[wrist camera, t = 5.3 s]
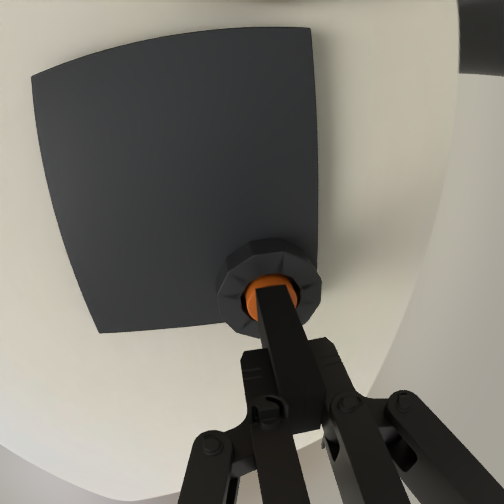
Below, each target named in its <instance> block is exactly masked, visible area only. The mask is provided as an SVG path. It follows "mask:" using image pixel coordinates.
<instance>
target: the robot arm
mask: <svg viewBox="0 0 504 504" xmlns="http://www.w3.org/2000/svg"><path fill="white" fill-rule="evenodd" d="M255 292H256V304H257V316H258V328H259V334H260V339H261V343H262V348H263V349H257V350H250V351H244V353H243V355H242V358H241V360H240V362H241V369H242V376H243V383H244V390H245V396H246V403H247V415H246V418H245V419H244V421H243V422H242V423H241V424H240V425H239V426H237V427H235V428H233V429H231V430H228V431H226V432H221V431H217V430H210V431H206V432H203V433H201V434H200V435H199V436H198V437H196V439H195V441H194V443H193V446H192V450H191V454H190V458H189V461H188V465H187V469H186V473H185V477H184V481H183V485H182V488H181V492H180V496H179V500H178V504H236V502H237V495H238V489H239V482H240V476H242V475H245V474H247V473H249V472H252V471H254V470H256V469H257V472H258V478H259V483H260V489H261V495H262V500H263V504H310V500H309V497H308V493H307V489H306V485H305V482H304V478H303V474H302V470H301V466H300V463H299V458H298V454H297V451H296V447H295V443H294V439H293V434H298V433H303V432H308V431H313V430H317V429H320V426H321V424H322V427H323V430H324V435H323V439H322V443H321V446H322V449H323V448H325V447H326V450H327V453H328V456H329V460H330V463H331V466H332V469H333V472H334V475H335V479H336V482H337V485H338V488H339V491H340V494H341V498H342V501H343V504H411V503H410V501H409V498H408V496H407V493H406V492H405V489H404V486H403V484H402V481H401V479H402V480H403V482H404V483H405V484H406V485H407V487H408V488H409V489H410V490H411V492H412V493H413V494H414V496H415V497H416V498H417V499H418V501H419V502H420V503H421V504H504V489H503V488H502V486H501V485H500V484H499V483H498V482H497V481H496V480H495V479H494V478H493V477H492V475H491V474H490V473H489V472H488V471H487V470H486V469H485V468H484V467H483V466H482V465H481V463H480V462H479V461H478V460H477V459H476V458H475V457H474V456H473V455H472V454H471V453H470V451H469V450H468V449H467V448H466V447H465V446H464V445H463V444H462V443H461V442H460V441H459V440H458V439H457V438H456V436H455V435H454V434H453V433H452V432H451V431H450V430H449V429H448V428H447V427H446V426H445V425H444V424H443V423H442V422H441V421H440V420H439V418H438V417H437V416H436V415H435V414H434V413H433V412H432V411H431V410H430V409H429V408H428V407H427V406H426V405H425V404H424V403H423V402H422V400H421V399H420V398H419V397H418V396H417V395H415V394H414V393H412V392H410V391H407V390H399V391H397V392H394V393H393V394H392V395H391V396H390V397H389V399H372V398H367V397H364V396H362V395H361V394H359V393H358V392H357V391H356V390H355V388H354V387H353V385H352V382H351V380H350V378H349V376H348V374H347V371H346V369H345V367H344V365H343V363H342V362H341V359H340V356H339V355H338V352H337V350H336V348H335V346H334V344H333V343H332V342H331V341H329V340H328V339H327V338H326V337H323V338H318V339H313V340H308V339H307V337H306V334H305V332H304V329H303V327H302V324H301V322H300V319H299V317H298V314H297V311H296V309H295V306H294V304H293V301H292V299H291V296H290V294H289V291H288V289H287V286H286V284H284V285H277V286H270V287H263V288H255ZM400 478H401V479H400Z"/></svg>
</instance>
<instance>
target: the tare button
mask: <svg viewBox="0 0 504 504" xmlns="http://www.w3.org/2000/svg"><path fill="white" fill-rule="evenodd" d="M284 284H286V286H287V289H288V291H289V294H290V296H291V299H292V301H293V304H294V306H295V308H296V305H297V296H296V293H295V291H294V288H293V286H292V284H291V281H290V279H289V277H288V276H286V275H283V274H280V273H275V274H268V275H261V276H260V277H258V278H257V279H255V280H253V281H252V282H250V283H249V284H247V286H246V288H245V290H244V293H245V299H246V304H247V309H248V312H249V314H250V316H251V317H252V318H253V319H255V320H256V321H258V316H257V304H256V292H255V288H263V287H270V286H277V285H284Z"/></svg>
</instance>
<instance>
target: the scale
mask: <svg viewBox="0 0 504 504" xmlns="http://www.w3.org/2000/svg"><path fill="white" fill-rule="evenodd" d="M31 82H32V94H33V104H34V112H35V120H36V127H37V133H38V140H39V145H40V151H41V156H42V161H43V166H44V171H45V176H46V180H47V184H48V189H49V193H50V197H51V201H52V204H53V208H54V212H55V215H56V219H57V222H58V226H59V229H60V233H61V236H62V239H63V242H64V245H65V248H66V251H67V254H68V257H69V260H70V263H71V266H72V268H73V271H74V274H75V277H76V279H77V282H78V285H79V287H80V290H81V292H82V295H83V297H84V300H85V302H86V304H87V307H88V309H89V312H90V314H91V316H92V318H93V321H94V323H95V325H96V327H97V330H98V332H99V333H117V332H132V331H145V330H157V329H168V328H179V327H189V326H198V325H207V324H216V323H224V322H226V323H227V324H228V325H229V326H230V327H231V328H232V329H233V330H234V331H235V332H236V333H240V334H243V335H247V336H251V337H255V338H258V339H260V334H259V328H258V321H256V320H255V319H253V318H252V317H251V316H250V314H249V312H248V309H247V304H246V299H245V293H244V290H245V288H246V286H247V284H249V283H250V282H252V281H253V280H255V279H257V278H258V277H260V276H261V275H268V274H275V273H280V274H283V275H286V276H288V277H289V279H290V281H291V284H292V286H293V288H294V291H295V293H296V296H297V305H296V308H295V309H296V311H297V314H298V317H299V319H300V322H301V324H302V325H303V324H305V323H306V322H307V321H308V320H309V319H310V317H311V316H312V314H313V313H314V311H315V310H316V308H317V307H318V305H319V304H320V301H321V285H322V281H321V278H320V276H319V274H318V273H317V254H318V141H317V114H316V94H315V77H314V63H313V50H312V39H311V29H310V28H304V27H245V28H228V29H216V30H206V31H198V32H190V33H183V34H176V35H170V36H164V37H159V38H153V39H148V40H144V41H139V42H135V43H130V44H126V45H122V46H118V47H114V48H111V49H107V50H103V51H100V52H97V53H93V54H90V55H87V56H84V57H81V58H78V59H75V60H72V61H69V62H66V63H63V64H61V65H58V66H55V67H53V68H50V69H48V70H45V71H43V72H40V73H38V74H35V75H33V76H32V77H31Z"/></svg>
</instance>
